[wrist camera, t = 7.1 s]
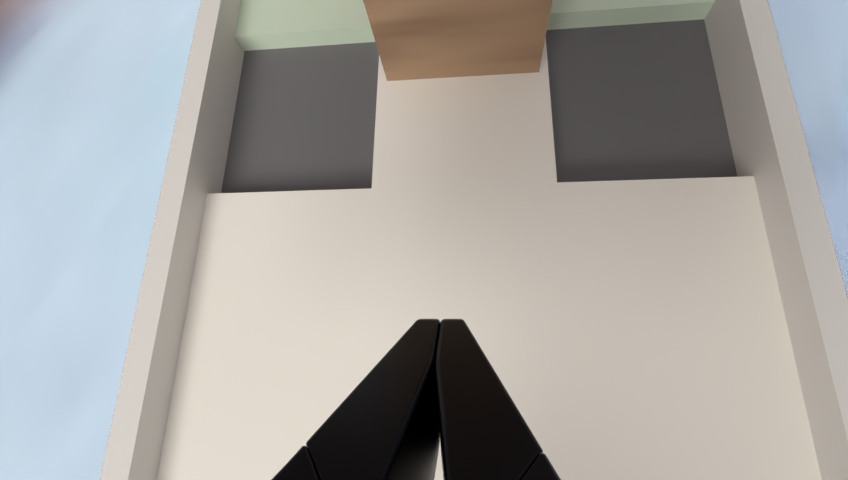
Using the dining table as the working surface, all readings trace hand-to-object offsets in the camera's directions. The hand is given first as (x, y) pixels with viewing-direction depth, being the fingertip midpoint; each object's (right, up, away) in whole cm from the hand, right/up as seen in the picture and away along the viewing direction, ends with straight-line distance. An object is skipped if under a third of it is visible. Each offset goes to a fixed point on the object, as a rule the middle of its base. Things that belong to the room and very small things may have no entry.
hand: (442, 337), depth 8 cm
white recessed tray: (+2, +4, +15) cm, 16 cm away
